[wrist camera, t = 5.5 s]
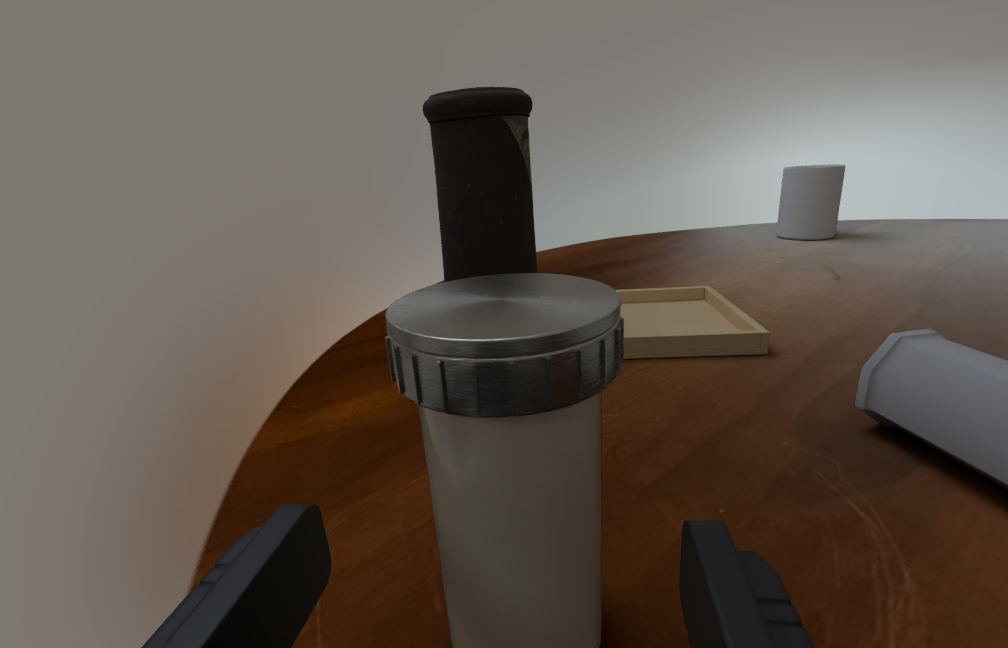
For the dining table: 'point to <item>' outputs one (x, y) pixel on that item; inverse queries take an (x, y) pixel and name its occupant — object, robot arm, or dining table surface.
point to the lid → (505, 343)
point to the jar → (519, 525)
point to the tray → (687, 324)
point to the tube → (941, 398)
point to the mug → (810, 202)
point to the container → (483, 180)
